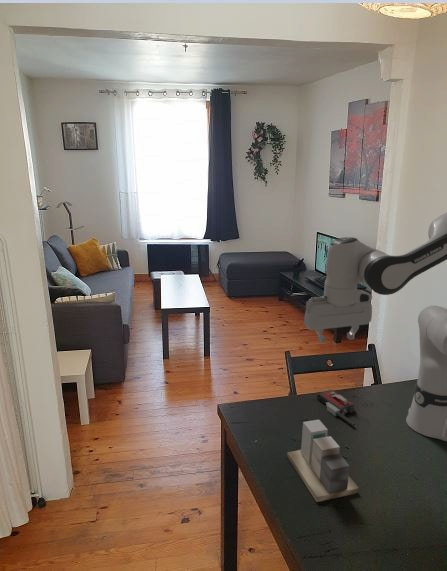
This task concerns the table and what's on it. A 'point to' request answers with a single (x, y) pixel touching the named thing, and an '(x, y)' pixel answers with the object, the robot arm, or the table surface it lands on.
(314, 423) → the block
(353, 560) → the table surface
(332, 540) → the table surface
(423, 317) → the robot arm
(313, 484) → the rail board
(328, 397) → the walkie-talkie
